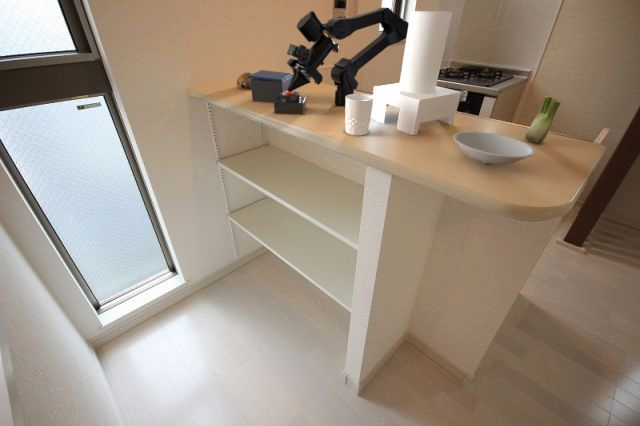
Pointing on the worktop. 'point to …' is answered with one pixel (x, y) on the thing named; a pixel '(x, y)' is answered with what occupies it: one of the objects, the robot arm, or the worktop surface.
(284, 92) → the button
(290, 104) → the red push button box
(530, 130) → the fennel bulb
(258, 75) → the lid
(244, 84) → the bread roll
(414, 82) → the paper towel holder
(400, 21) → the robot arm
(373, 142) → the worktop surface
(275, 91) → the dark grey housing
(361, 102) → the white cup
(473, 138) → the dish
